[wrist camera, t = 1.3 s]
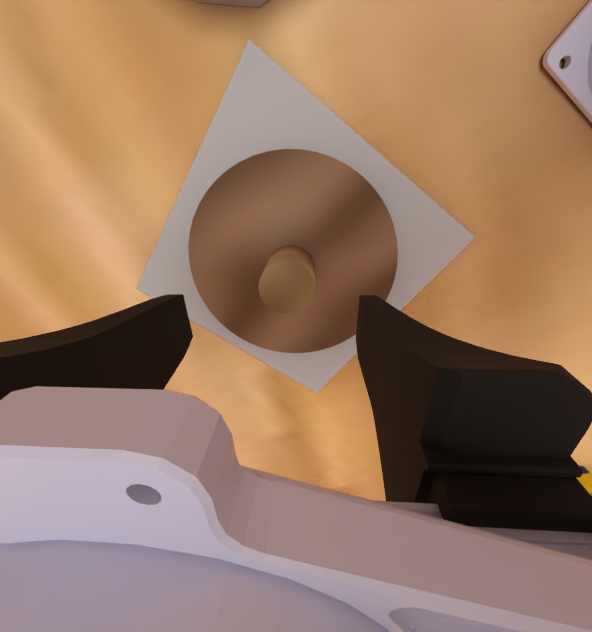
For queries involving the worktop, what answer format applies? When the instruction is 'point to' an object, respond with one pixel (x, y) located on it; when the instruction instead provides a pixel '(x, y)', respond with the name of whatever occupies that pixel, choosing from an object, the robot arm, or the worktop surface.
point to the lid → (291, 249)
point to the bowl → (237, 2)
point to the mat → (313, 135)
